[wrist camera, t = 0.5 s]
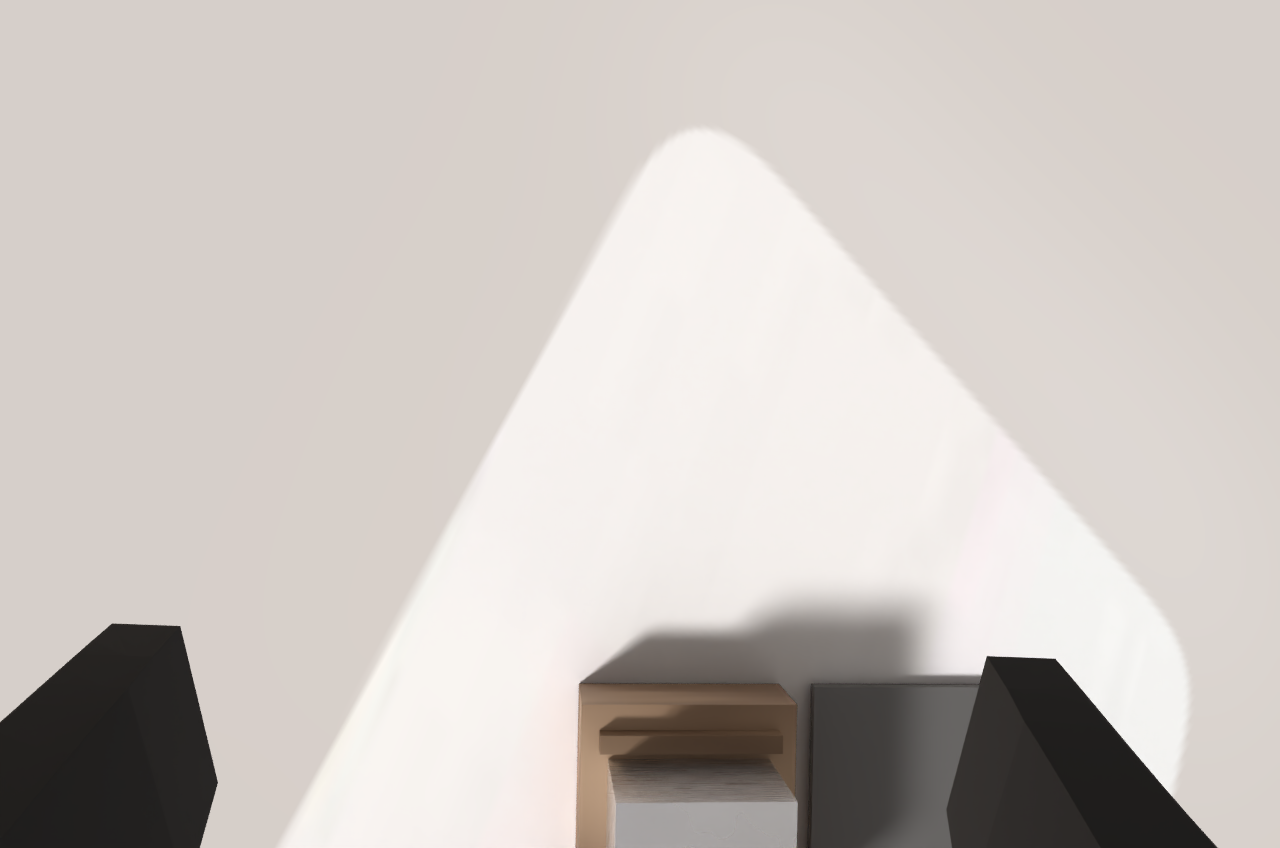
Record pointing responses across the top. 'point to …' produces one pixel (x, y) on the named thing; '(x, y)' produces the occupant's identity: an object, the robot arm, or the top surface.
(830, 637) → the top surface
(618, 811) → the lever cap
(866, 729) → the rubber mat
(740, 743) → the body
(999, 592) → the top surface
